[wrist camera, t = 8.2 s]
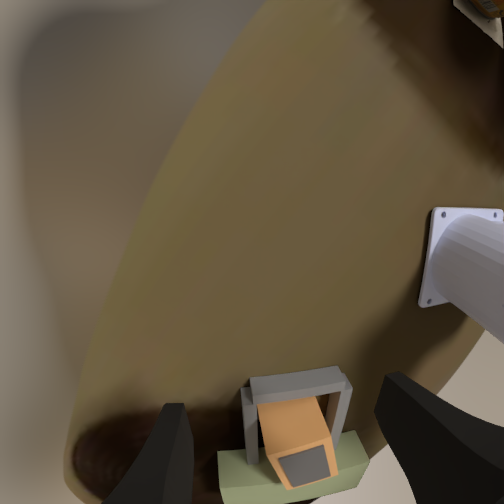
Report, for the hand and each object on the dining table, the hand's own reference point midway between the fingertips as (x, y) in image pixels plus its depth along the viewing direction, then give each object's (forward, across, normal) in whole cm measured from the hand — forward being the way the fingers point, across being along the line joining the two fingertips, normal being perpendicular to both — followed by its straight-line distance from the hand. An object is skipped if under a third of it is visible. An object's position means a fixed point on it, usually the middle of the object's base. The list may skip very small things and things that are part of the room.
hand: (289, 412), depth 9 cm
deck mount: (+10, -3, +16) cm, 19 cm away
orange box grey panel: (+10, -3, +13) cm, 17 cm away
